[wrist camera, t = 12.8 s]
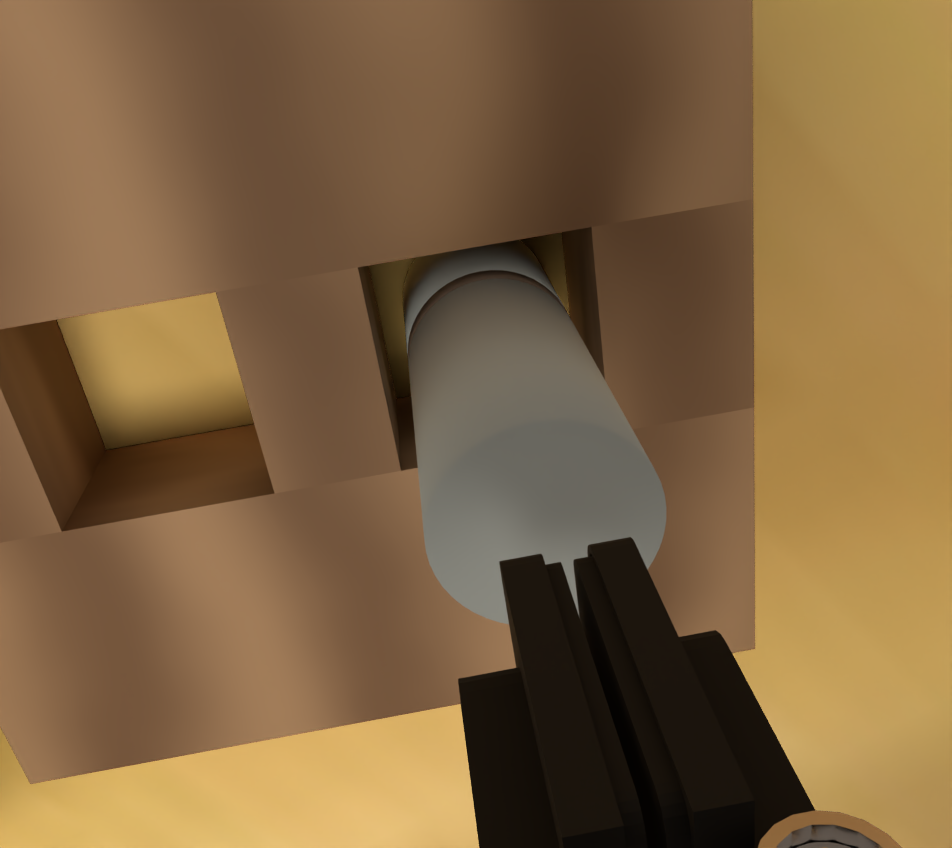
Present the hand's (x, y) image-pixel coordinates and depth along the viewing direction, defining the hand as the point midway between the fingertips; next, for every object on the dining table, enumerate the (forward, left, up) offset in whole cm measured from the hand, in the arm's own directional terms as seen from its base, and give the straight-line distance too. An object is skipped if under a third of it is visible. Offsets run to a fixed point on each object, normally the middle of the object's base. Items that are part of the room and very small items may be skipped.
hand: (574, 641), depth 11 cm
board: (+4, 0, -14) cm, 14 cm away
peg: (0, 0, -14) cm, 14 cm away
